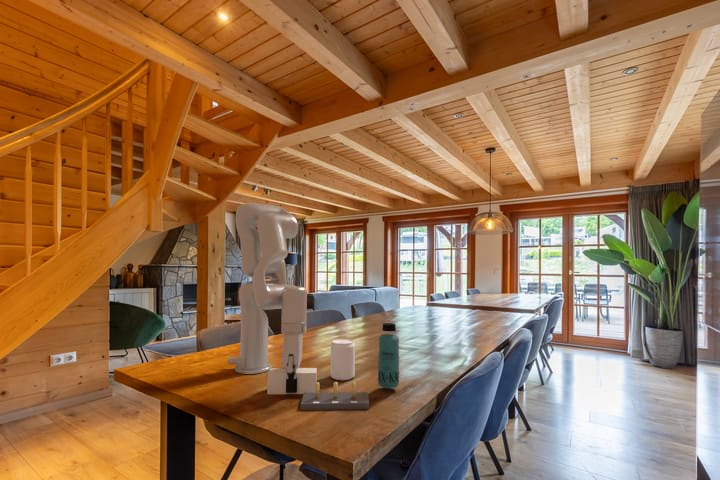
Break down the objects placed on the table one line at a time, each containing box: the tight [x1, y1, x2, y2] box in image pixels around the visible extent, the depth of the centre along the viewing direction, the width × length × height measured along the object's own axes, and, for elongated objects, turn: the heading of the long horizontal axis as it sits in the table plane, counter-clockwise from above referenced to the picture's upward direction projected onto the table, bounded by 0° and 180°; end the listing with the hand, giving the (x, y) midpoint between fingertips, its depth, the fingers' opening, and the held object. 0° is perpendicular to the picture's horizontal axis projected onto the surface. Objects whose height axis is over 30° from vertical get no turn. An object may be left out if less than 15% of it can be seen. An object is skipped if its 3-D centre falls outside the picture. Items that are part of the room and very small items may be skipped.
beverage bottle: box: [377, 322, 400, 389], centre depth 108 cm, size 6×7×20 cm
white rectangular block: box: [266, 367, 318, 395], centre depth 106 cm, size 14×5×6 cm, turn 93°
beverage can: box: [330, 338, 356, 382], centre depth 119 cm, size 8×8×12 cm
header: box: [300, 381, 370, 411], centre depth 97 cm, size 18×8×6 cm, turn 93°
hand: (292, 388), depth 106 cm, fingers closed on white rectangular block, 5 cm apart
